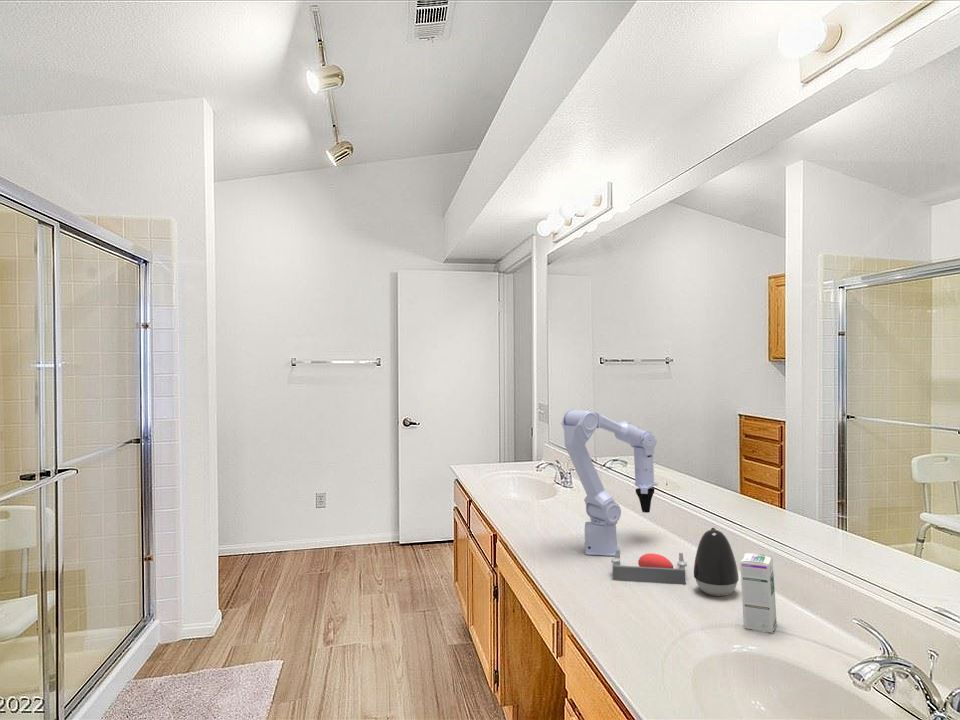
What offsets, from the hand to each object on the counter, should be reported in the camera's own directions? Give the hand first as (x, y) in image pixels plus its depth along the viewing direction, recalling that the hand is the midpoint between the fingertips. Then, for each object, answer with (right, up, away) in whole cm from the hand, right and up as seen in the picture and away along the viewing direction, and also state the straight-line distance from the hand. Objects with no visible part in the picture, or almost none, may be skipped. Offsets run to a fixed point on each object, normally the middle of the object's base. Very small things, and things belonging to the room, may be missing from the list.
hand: (646, 512), depth 189 cm
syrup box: (+7, -9, -61) cm, 62 cm away
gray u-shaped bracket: (-7, -10, -27) cm, 29 cm away
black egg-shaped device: (+6, -9, -42) cm, 43 cm away
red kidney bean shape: (-5, -10, -26) cm, 28 cm away
